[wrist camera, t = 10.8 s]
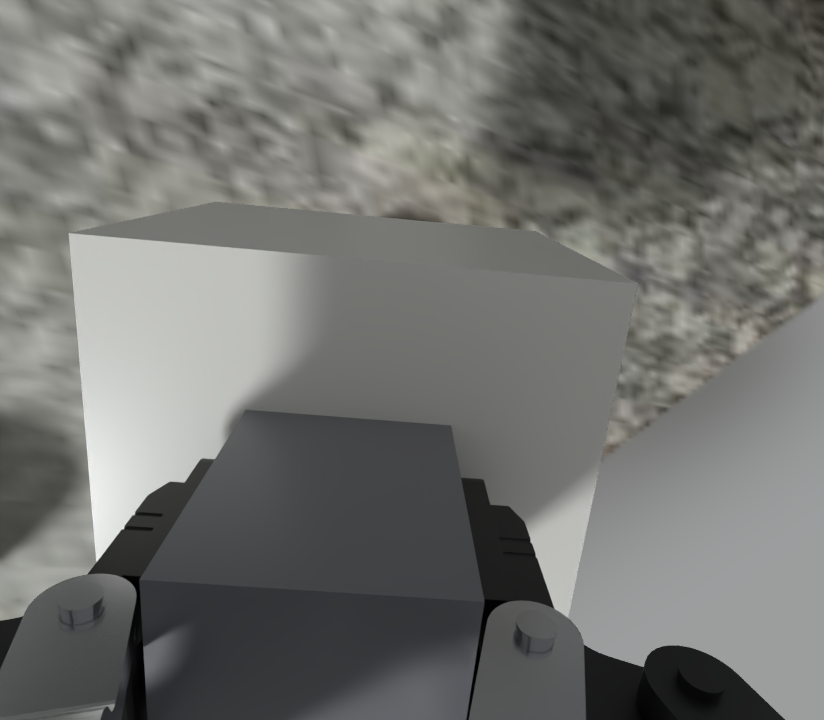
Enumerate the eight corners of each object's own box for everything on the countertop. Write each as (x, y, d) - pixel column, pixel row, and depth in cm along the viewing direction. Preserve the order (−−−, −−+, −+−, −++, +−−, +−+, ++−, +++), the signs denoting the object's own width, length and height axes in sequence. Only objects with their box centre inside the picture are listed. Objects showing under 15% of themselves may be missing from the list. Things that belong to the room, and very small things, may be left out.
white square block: (215, 201, 19) (-202, 290, 6) (535, 231, 19) (817, 375, 6) (218, 487, 22) (-50, 964, 9) (493, 507, 23) (622, 987, 9)
